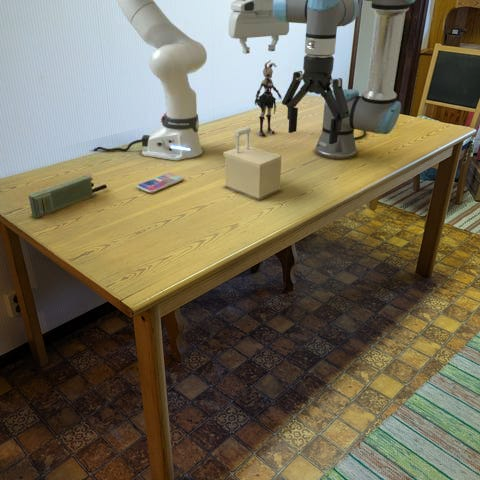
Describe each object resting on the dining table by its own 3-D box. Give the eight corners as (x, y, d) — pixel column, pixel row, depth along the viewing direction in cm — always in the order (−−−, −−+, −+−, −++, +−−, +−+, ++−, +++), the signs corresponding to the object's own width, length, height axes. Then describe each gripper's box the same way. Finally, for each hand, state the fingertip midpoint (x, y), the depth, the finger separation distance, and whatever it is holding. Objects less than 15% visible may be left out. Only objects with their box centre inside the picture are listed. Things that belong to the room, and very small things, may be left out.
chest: (225, 187, 163) (224, 156, 158) (246, 178, 169) (246, 149, 164) (258, 200, 154) (259, 168, 149) (279, 191, 161) (281, 160, 156)
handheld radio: (30, 215, 144) (102, 188, 161) (37, 219, 142) (109, 191, 159) (26, 193, 140) (100, 168, 157) (33, 197, 138) (107, 171, 155)
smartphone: (184, 177, 167) (150, 191, 157) (184, 180, 167) (151, 194, 157) (168, 171, 171) (134, 185, 161) (168, 174, 171) (135, 188, 161)
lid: (223, 156, 158) (223, 130, 154) (245, 148, 165) (245, 123, 160) (259, 168, 149) (260, 141, 145) (281, 159, 156) (282, 133, 152)
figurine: (257, 139, 205) (260, 61, 191) (247, 135, 209) (249, 59, 194) (282, 131, 214) (286, 57, 199) (272, 128, 218) (275, 55, 203)
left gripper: (282, 1, 158) (280, 48, 165) (225, 3, 149) (226, 53, 156) (294, 3, 154) (292, 51, 160) (236, 5, 144) (236, 56, 151)
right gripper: (271, 50, 132) (268, 130, 143) (353, 63, 117) (343, 151, 128) (289, 47, 137) (284, 124, 147) (370, 60, 122) (359, 144, 133)
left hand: (259, 52), depth 158 cm, fingers open, 8 cm apart
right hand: (312, 137), depth 138 cm, fingers open, 13 cm apart
